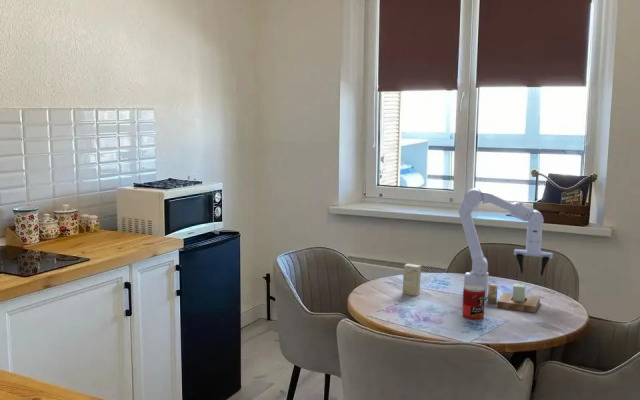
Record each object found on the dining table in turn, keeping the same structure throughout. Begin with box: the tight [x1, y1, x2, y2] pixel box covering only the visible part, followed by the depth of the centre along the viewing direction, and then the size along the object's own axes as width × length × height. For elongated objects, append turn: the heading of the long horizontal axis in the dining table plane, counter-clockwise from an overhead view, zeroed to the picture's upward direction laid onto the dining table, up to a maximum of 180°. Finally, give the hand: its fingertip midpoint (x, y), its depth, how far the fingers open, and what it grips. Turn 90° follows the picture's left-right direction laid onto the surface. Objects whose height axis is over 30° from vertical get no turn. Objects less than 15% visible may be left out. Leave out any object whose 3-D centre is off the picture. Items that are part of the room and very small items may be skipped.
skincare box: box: [402, 263, 422, 297], centre depth 252 cm, size 6×4×12 cm
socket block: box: [496, 291, 541, 314], centre depth 239 cm, size 14×14×2 cm
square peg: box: [512, 283, 526, 302], centre depth 238 cm, size 4×4×8 cm
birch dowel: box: [487, 283, 499, 304], centre depth 242 cm, size 4×4×7 cm
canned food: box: [462, 284, 486, 320], centre depth 224 cm, size 8×8×11 cm
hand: (531, 273), depth 246 cm, fingers open, 7 cm apart
